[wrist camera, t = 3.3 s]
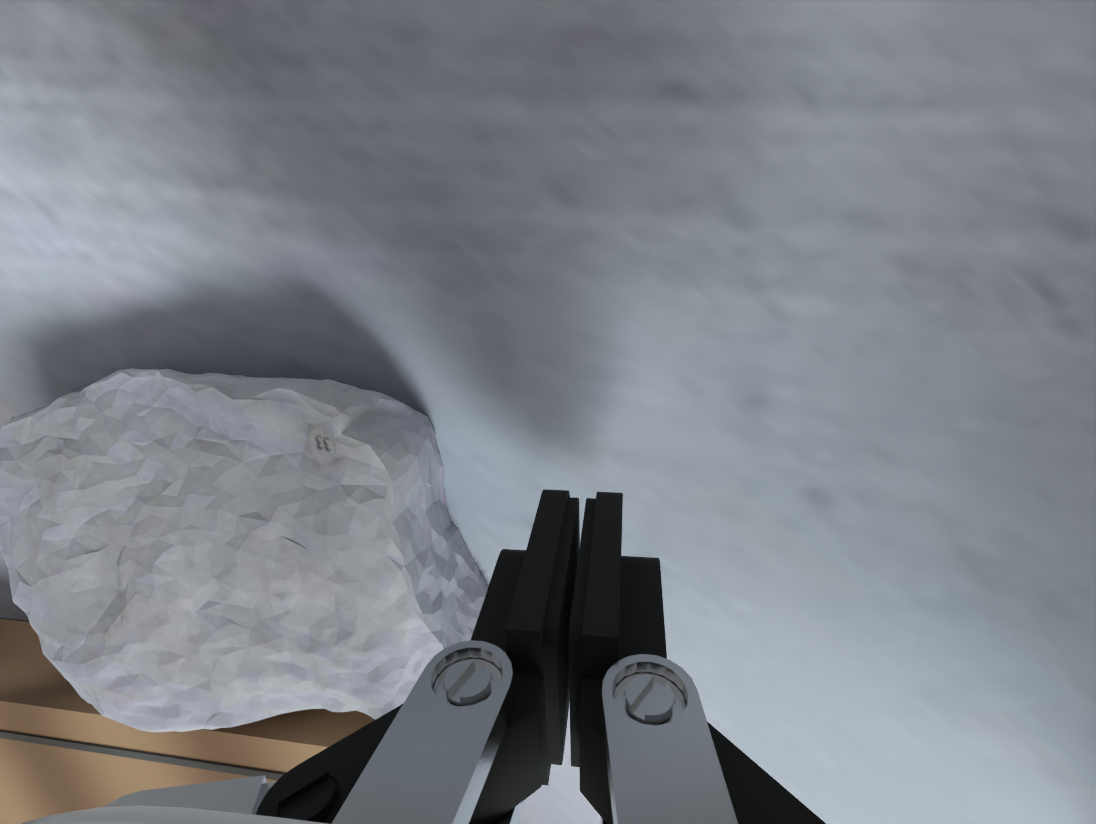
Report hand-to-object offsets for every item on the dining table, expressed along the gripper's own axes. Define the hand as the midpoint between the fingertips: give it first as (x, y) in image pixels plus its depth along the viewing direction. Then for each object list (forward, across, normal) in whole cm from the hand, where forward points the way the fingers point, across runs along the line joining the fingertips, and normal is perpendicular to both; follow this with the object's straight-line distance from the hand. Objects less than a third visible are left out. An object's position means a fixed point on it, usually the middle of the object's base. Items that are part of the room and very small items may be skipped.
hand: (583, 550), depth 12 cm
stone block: (+4, +9, +1) cm, 10 cm away
